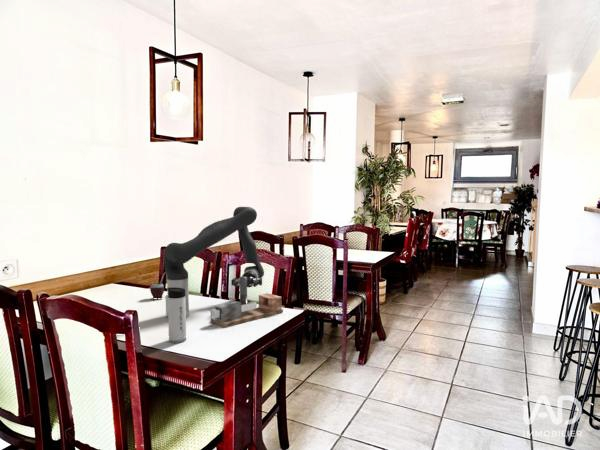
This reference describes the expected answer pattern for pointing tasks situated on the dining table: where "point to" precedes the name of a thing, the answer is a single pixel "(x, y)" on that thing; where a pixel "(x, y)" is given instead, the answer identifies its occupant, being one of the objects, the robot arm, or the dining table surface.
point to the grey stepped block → (243, 300)
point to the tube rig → (234, 316)
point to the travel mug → (177, 314)
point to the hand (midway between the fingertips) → (245, 284)
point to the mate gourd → (157, 289)
